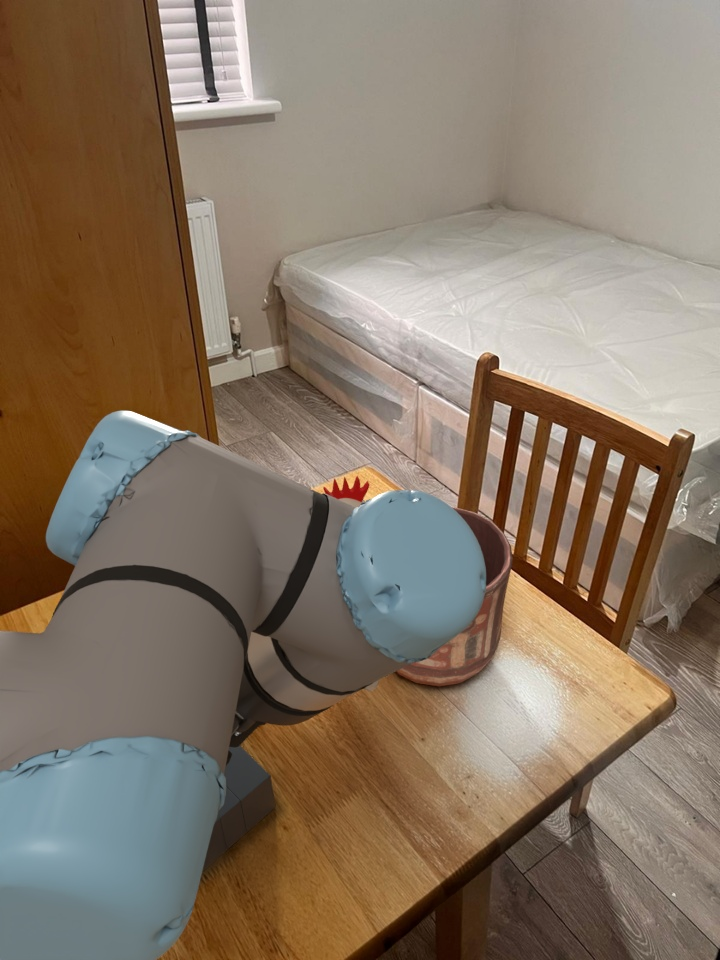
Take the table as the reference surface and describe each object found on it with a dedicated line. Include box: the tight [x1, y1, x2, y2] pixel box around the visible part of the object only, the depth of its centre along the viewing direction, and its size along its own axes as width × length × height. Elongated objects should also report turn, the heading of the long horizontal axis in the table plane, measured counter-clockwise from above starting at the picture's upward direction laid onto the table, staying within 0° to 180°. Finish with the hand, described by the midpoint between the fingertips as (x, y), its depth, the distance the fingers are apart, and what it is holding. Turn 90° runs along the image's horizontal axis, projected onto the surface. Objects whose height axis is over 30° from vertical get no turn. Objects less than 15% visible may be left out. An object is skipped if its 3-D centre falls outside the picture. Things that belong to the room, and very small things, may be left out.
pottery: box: [395, 506, 514, 687], centre depth 92 cm, size 18×18×18 cm
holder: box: [202, 745, 276, 873], centre depth 78 cm, size 11×11×6 cm
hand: (204, 723), depth 61 cm, fingers open, 13 cm apart
